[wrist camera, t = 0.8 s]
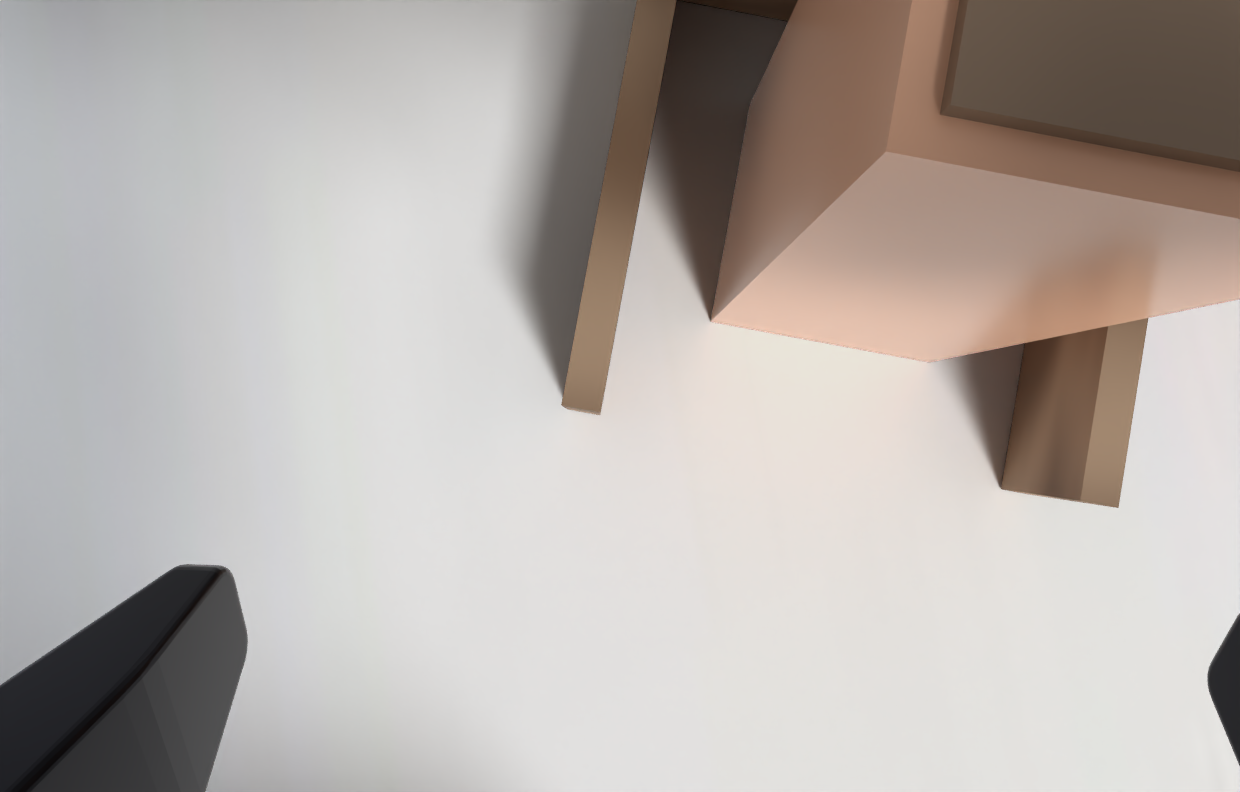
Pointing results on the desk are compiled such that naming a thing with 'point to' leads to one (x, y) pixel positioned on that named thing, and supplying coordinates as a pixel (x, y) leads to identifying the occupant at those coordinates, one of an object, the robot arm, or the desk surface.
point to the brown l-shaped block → (1051, 368)
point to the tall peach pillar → (986, 172)
